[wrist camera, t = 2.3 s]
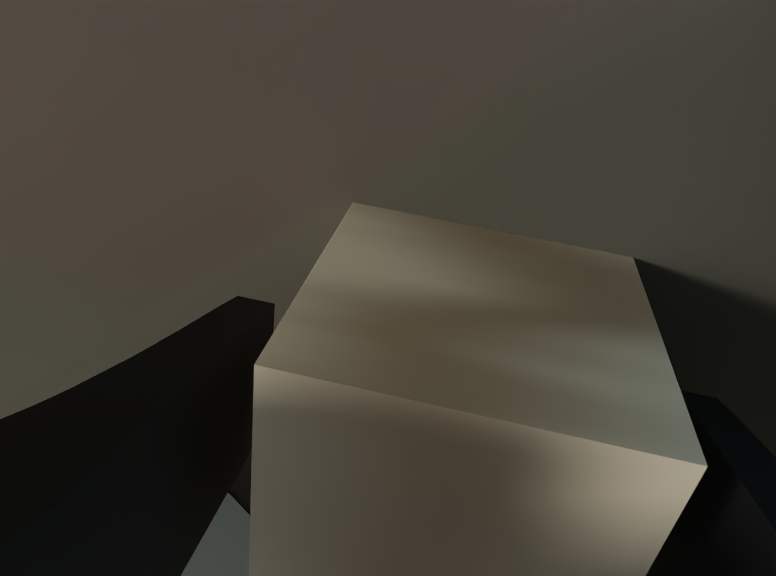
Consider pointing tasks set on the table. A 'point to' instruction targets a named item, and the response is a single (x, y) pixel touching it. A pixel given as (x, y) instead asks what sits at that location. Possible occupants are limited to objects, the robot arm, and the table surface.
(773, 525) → the robot arm
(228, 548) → the base board
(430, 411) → the maple block
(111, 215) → the table surface
